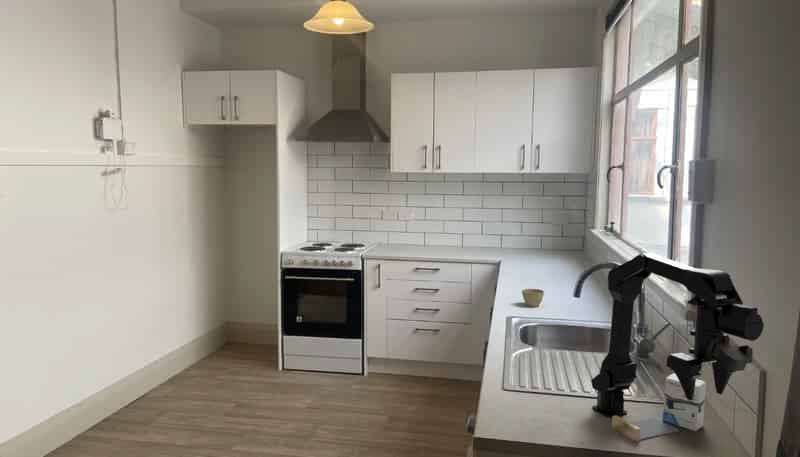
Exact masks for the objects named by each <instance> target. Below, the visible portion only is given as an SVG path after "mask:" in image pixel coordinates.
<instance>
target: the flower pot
mask: <svg viewBox="0 0 800 457" xmlns="http://www.w3.org/2000/svg"><path fill="white" fill-rule="evenodd" d="M521 294H522V298H523V300H524V303H525V305H526V306H527V307H529V308H537V307H539V306H540V304H541V303H542V301H543V297H544V296H545V295H544V294H545V291H544V290H542V289H539V288H524V289H522V290H521Z"/></svg>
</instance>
